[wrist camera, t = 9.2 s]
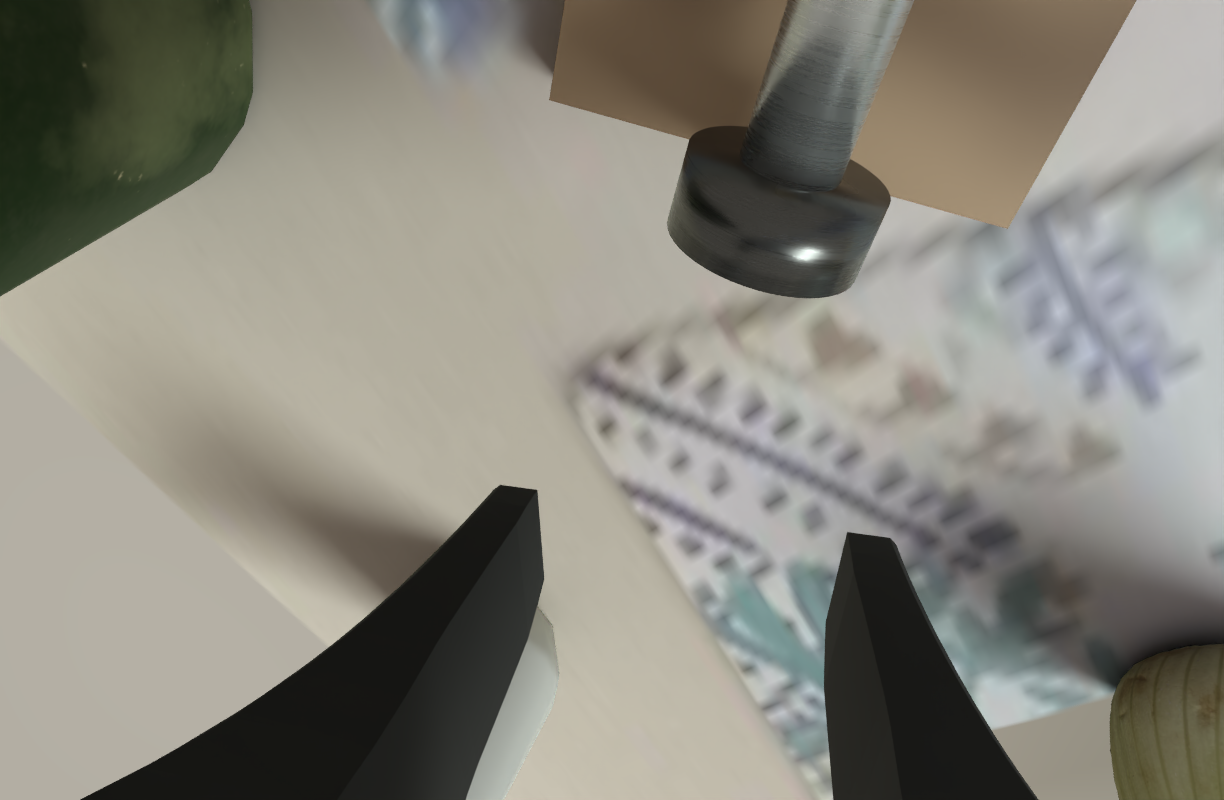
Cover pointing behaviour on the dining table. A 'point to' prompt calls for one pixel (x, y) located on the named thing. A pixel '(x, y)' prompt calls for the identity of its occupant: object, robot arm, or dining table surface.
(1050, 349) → the dining table surface
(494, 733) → the salt shaker
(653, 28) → the shaft bracket
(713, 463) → the dining table surface
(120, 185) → the green bottle
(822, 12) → the shaft
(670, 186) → the dining table surface
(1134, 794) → the fennel bulb
